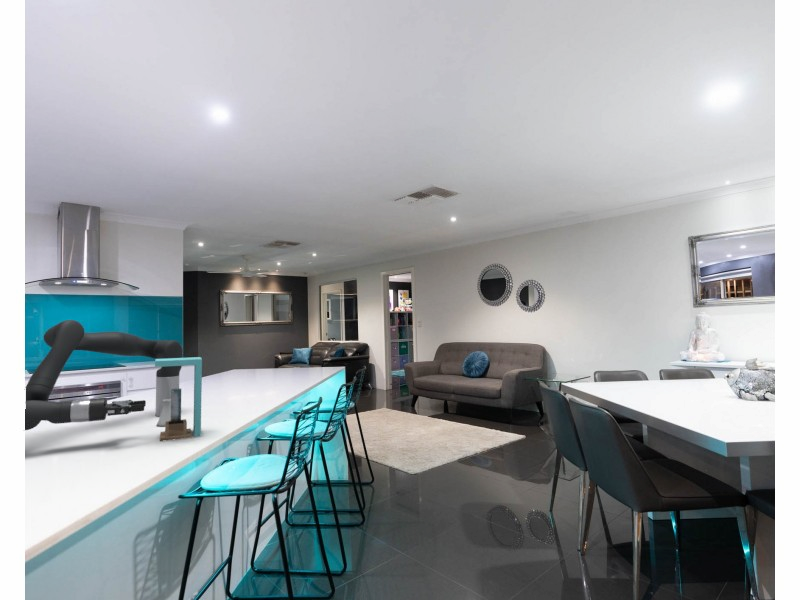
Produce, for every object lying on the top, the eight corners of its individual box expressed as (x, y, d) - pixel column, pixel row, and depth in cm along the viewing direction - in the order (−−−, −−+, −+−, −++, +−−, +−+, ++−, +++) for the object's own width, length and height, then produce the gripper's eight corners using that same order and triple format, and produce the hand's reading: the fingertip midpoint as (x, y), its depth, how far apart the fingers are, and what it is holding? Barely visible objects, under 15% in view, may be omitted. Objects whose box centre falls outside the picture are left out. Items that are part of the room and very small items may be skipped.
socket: (160, 434, 158) (160, 420, 158) (190, 431, 163) (190, 417, 163) (159, 441, 149) (160, 426, 149) (191, 437, 154) (191, 423, 154)
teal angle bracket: (154, 435, 157) (155, 358, 158) (199, 430, 164) (200, 357, 165) (153, 442, 148) (155, 361, 149) (200, 436, 155) (202, 359, 156)
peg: (170, 432, 156) (170, 388, 157) (180, 431, 158) (181, 388, 159) (170, 434, 153) (170, 390, 154) (180, 433, 155) (181, 389, 156)
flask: (170, 427, 169) (171, 401, 170) (152, 427, 169) (153, 401, 170) (180, 422, 176) (180, 398, 177) (163, 422, 176) (163, 398, 177)
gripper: (85, 402, 138) (144, 397, 146) (92, 395, 150) (146, 391, 158) (85, 425, 137) (143, 420, 145) (92, 417, 150) (145, 412, 158)
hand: (144, 405), depth 152 cm, fingers open, 8 cm apart
